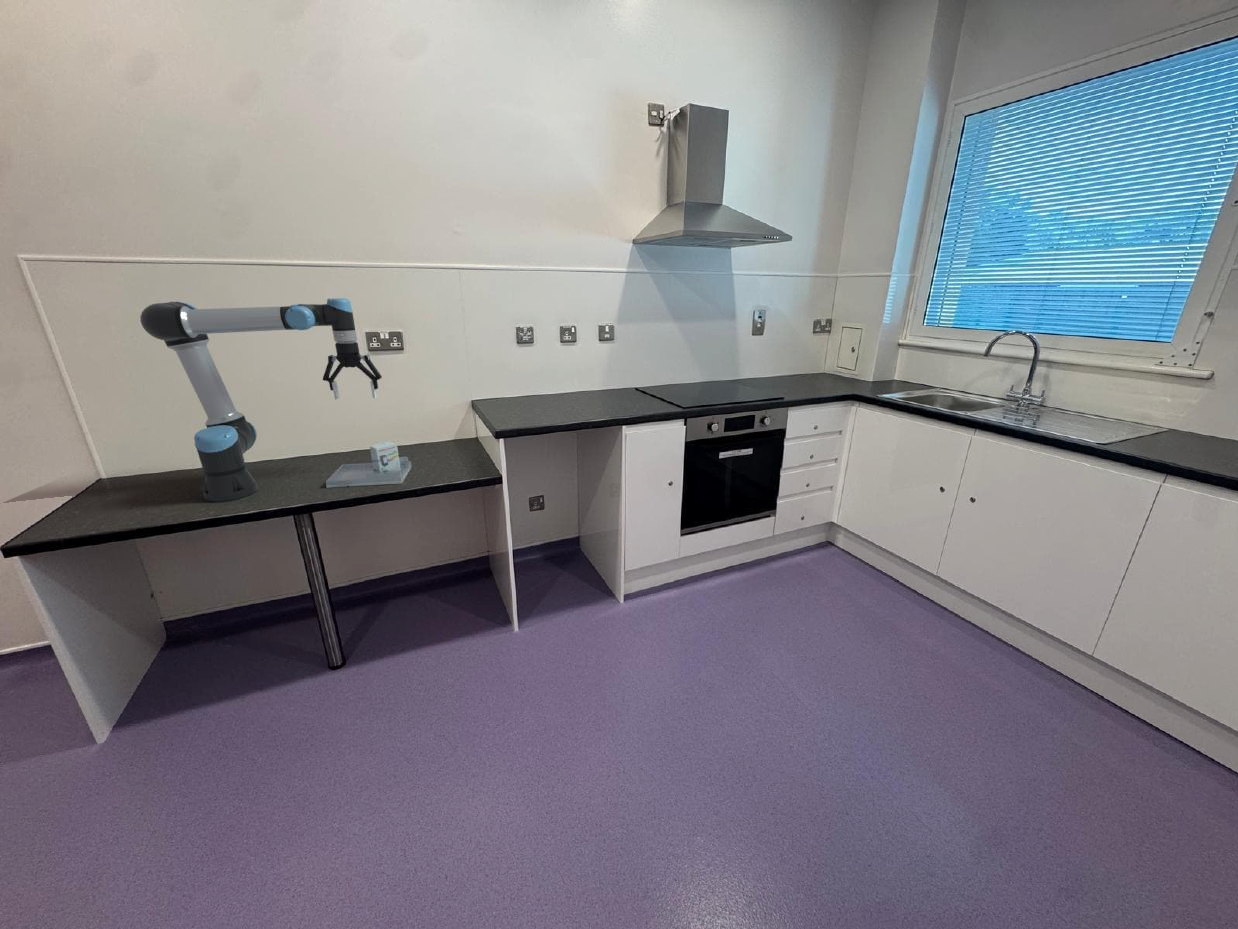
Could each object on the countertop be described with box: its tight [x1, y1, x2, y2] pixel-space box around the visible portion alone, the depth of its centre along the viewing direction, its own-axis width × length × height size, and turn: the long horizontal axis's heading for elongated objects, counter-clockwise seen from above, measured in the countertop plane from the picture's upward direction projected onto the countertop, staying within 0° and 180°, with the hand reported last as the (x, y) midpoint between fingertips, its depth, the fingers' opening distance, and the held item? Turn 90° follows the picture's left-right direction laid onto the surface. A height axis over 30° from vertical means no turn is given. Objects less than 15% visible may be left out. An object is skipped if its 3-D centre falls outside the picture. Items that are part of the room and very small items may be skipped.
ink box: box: [369, 441, 401, 471], centre depth 190 cm, size 9×5×12 cm, turn 143°
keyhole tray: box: [325, 456, 413, 489], centre depth 190 cm, size 26×18×4 cm
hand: (356, 398), depth 191 cm, fingers open, 13 cm apart
